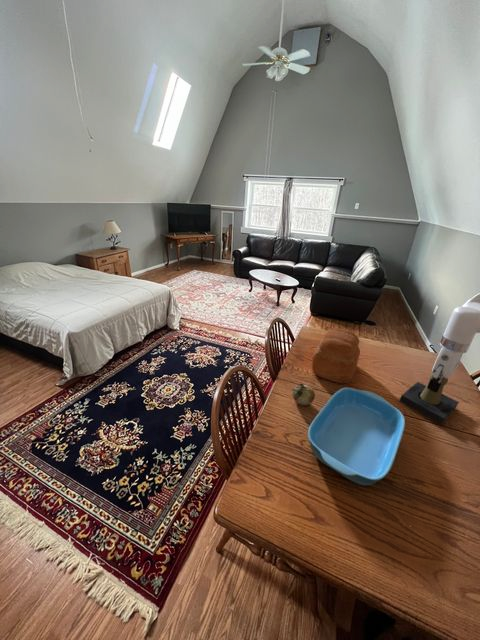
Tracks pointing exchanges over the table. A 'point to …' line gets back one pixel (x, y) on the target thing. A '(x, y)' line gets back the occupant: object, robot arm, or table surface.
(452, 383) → the table surface
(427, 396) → the cork
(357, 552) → the table surface
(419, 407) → the socket pad
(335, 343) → the bread
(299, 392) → the onion
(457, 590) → the table surface
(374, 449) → the casserole dish
